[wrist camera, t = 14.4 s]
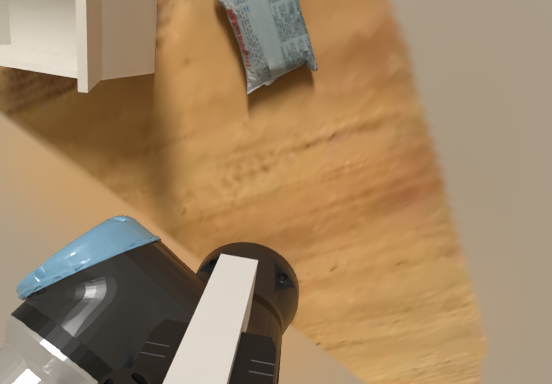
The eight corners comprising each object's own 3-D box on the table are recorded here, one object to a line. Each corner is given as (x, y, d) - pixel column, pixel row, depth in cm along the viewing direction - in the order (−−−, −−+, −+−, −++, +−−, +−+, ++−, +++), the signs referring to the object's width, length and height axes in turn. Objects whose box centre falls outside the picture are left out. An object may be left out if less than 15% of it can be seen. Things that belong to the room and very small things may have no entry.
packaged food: (249, 91, 47) (243, 96, 42) (215, -12, 43) (204, -20, 39) (319, 69, 45) (320, 70, 41) (289, -40, 42) (287, -52, 37)
